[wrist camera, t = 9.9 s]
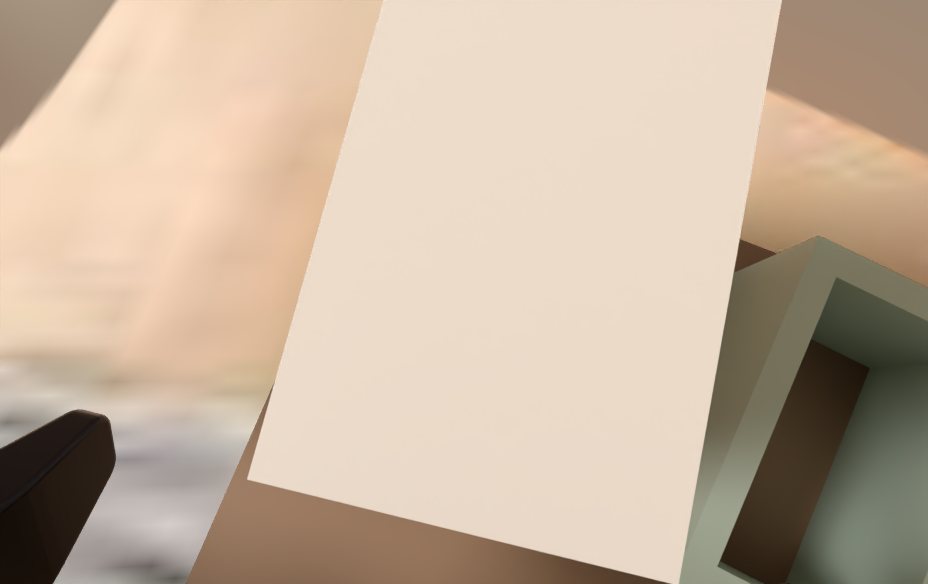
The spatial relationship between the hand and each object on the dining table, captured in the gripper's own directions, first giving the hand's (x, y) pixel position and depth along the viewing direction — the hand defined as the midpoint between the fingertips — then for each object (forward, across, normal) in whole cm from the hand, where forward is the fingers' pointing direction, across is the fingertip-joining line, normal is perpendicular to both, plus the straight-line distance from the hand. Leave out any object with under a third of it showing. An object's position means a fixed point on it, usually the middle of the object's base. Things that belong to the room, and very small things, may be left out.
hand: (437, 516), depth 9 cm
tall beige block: (+7, 0, +2) cm, 8 cm away
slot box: (+7, -7, +3) cm, 10 cm away
